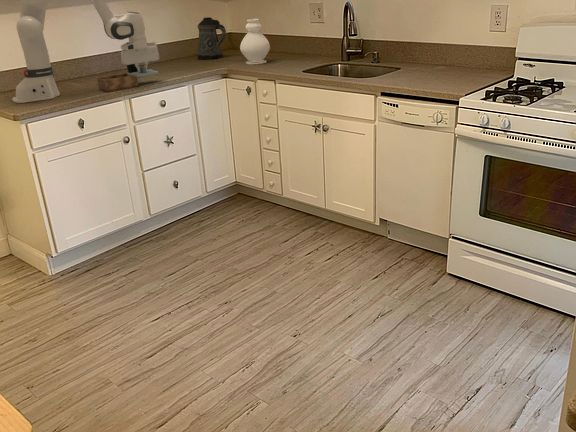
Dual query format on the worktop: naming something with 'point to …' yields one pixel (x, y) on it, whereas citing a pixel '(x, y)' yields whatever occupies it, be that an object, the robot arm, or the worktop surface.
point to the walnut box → (117, 82)
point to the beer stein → (210, 39)
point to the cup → (132, 68)
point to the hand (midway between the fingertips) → (142, 71)
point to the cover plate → (149, 72)
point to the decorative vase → (254, 43)
